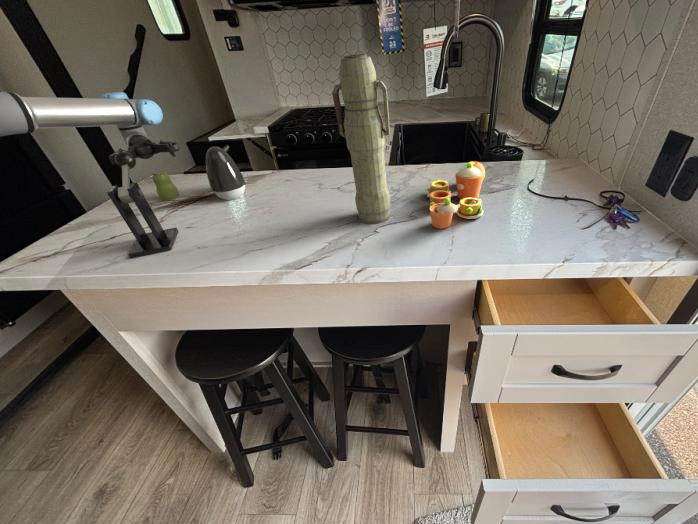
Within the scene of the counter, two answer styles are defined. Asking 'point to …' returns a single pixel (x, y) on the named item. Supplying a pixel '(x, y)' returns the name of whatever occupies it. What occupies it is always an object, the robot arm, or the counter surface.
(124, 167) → the lever with ball knob
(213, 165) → the pump dispenser
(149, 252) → the dark grey slanted stand
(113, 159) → the robot arm
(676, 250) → the counter surface
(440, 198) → the toy tea set
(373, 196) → the thermos
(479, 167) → the clementine
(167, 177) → the pear
